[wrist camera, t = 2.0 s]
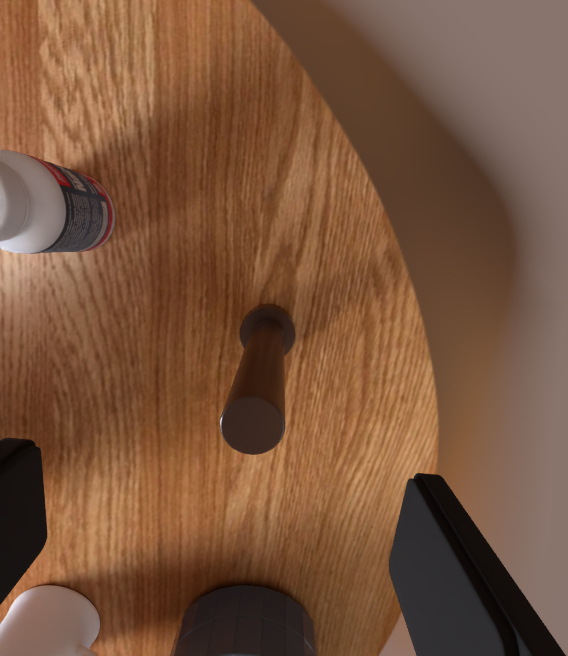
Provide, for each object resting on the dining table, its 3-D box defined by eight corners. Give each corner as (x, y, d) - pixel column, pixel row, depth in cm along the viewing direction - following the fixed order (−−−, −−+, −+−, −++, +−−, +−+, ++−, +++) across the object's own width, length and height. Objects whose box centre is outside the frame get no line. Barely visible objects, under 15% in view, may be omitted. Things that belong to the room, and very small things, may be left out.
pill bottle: (124, 188, 23) (32, 157, 15) (108, 261, 25) (15, 272, 16) (47, 160, 23) (-93, 112, 14) (35, 236, 24) (-102, 233, 16)
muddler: (297, 307, 26) (313, 381, 12) (291, 357, 26) (300, 478, 13) (244, 301, 25) (200, 370, 12) (240, 351, 26) (194, 469, 13)
